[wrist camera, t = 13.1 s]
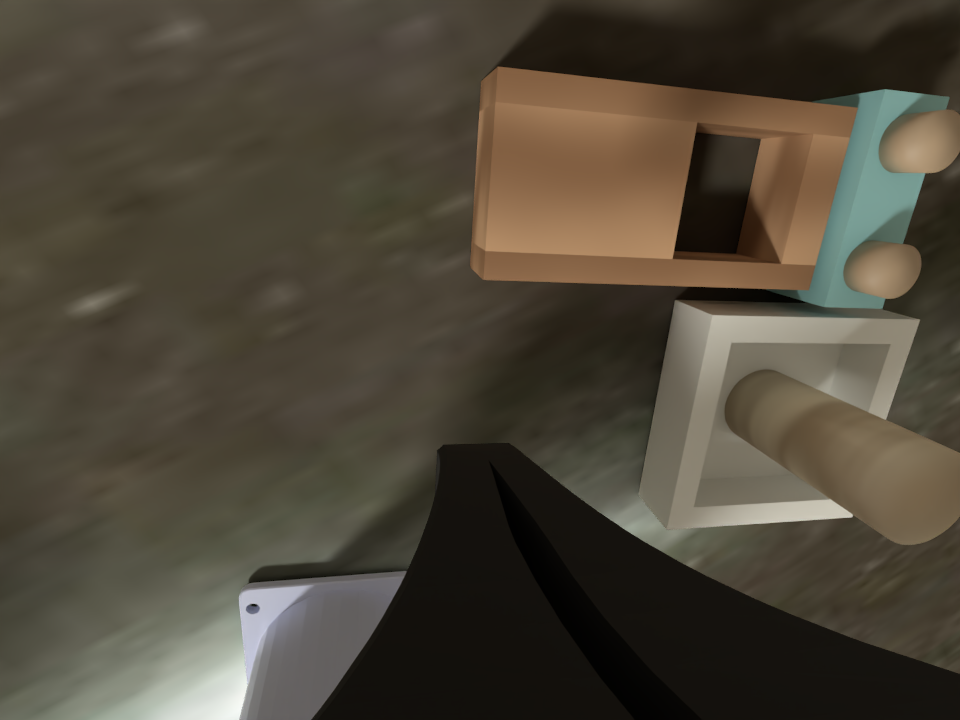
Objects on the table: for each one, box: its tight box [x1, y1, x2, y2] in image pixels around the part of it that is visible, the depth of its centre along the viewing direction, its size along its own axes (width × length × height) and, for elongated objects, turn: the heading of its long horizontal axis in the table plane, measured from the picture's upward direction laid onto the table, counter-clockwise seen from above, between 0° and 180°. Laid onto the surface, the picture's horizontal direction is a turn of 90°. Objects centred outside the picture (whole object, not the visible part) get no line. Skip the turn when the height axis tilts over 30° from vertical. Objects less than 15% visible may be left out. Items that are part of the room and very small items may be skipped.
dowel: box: [725, 369, 960, 545], centre depth 19 cm, size 3×3×8 cm
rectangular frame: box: [470, 67, 858, 290], centre depth 18 cm, size 6×12×2 cm, turn 86°
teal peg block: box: [766, 89, 960, 309], centre depth 19 cm, size 7×2×4 cm, turn 176°
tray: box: [638, 300, 920, 530], centre depth 22 cm, size 9×9×2 cm
